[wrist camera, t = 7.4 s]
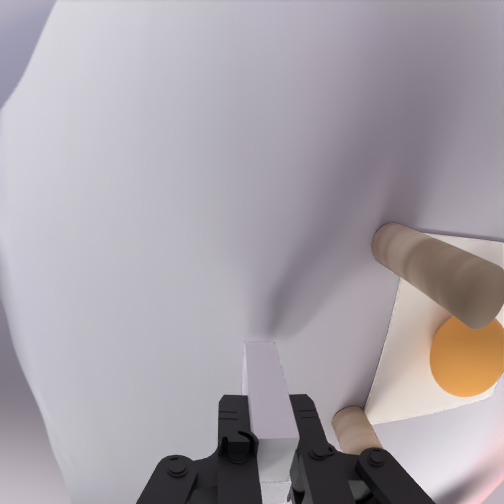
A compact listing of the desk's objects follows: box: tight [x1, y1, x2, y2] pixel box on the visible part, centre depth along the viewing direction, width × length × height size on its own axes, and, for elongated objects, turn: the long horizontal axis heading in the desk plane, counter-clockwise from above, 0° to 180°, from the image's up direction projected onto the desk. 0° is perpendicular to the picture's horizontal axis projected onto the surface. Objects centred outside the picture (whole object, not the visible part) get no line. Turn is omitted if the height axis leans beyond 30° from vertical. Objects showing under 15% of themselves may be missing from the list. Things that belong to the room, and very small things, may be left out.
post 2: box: [372, 223, 504, 329], centre depth 13 cm, size 2×2×8 cm
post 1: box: [332, 406, 383, 455], centre depth 16 cm, size 2×2×8 cm
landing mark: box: [363, 233, 504, 425], centre depth 19 cm, size 14×14×1 cm
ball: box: [429, 316, 504, 397], centre depth 16 cm, size 6×6×6 cm
